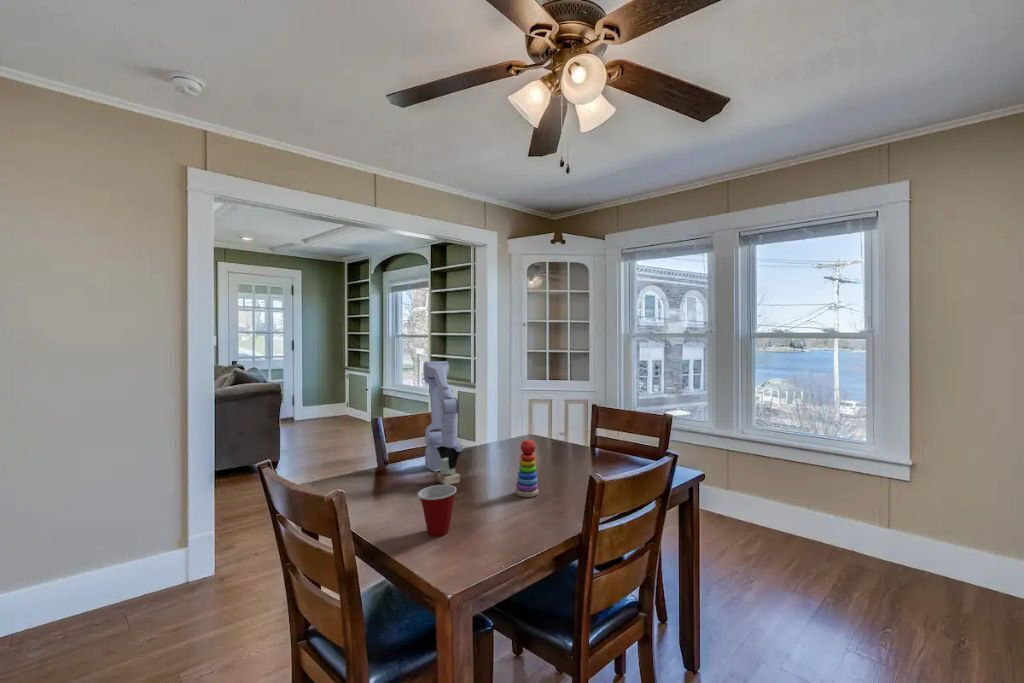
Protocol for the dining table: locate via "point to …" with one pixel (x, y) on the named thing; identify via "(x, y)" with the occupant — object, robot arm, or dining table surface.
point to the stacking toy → (527, 471)
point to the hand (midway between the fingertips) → (448, 467)
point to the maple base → (448, 478)
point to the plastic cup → (437, 508)
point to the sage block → (445, 466)
